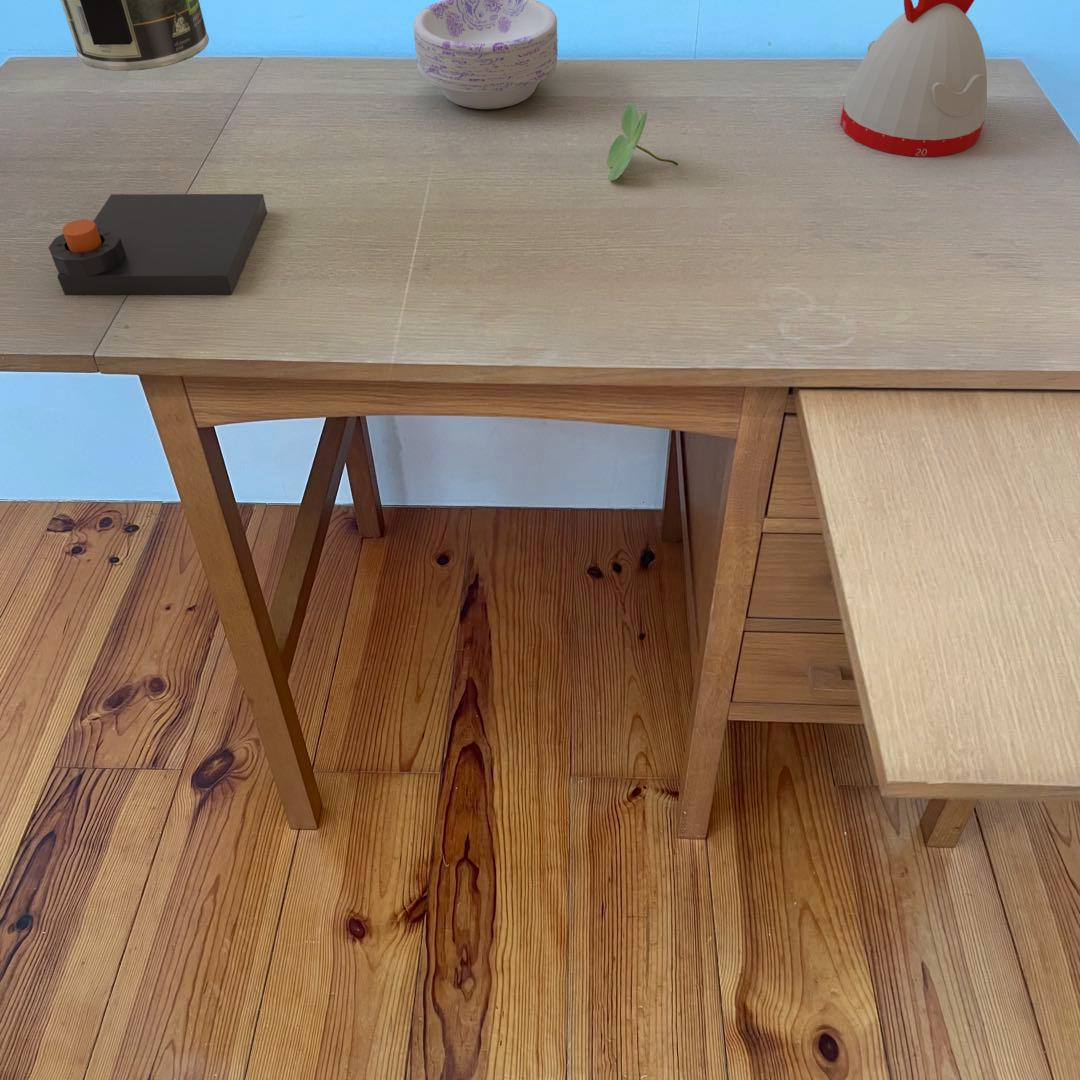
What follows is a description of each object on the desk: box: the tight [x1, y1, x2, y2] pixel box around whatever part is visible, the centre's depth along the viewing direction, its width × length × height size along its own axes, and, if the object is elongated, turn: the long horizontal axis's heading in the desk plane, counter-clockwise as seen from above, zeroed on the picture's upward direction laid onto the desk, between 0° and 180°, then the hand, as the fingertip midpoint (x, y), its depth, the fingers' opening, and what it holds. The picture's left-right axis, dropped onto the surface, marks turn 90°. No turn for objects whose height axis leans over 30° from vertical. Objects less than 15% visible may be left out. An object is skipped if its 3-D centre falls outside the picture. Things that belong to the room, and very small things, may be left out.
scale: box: [48, 193, 268, 296], centre depth 87 cm, size 15×14×4 cm
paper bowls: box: [412, 0, 559, 110], centre depth 108 cm, size 15×15×8 cm
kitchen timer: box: [840, 0, 988, 158], centre depth 98 cm, size 14×14×15 cm
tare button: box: [61, 218, 102, 253], centre depth 82 cm, size 3×3×2 cm
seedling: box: [606, 101, 679, 182], centre depth 97 cm, size 7×8×6 cm
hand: (134, 17), depth 79 cm, fingers closed on coffee can, 10 cm apart
